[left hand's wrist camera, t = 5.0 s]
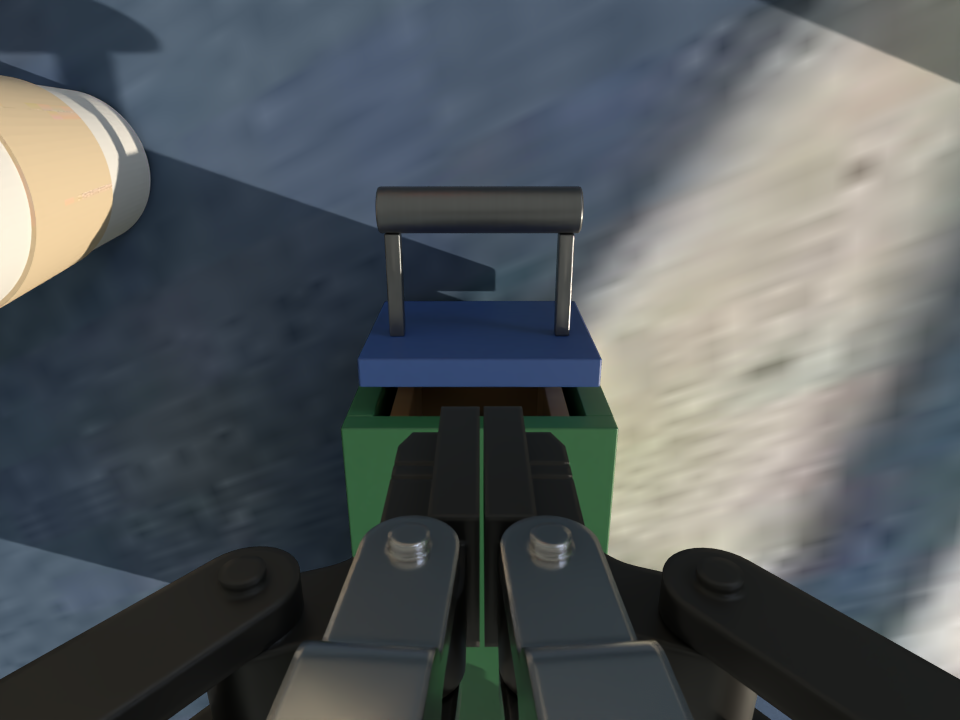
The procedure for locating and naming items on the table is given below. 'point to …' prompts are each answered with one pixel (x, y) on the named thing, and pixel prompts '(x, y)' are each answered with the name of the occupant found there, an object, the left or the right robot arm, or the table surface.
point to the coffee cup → (62, 181)
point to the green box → (370, 469)
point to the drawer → (479, 310)
